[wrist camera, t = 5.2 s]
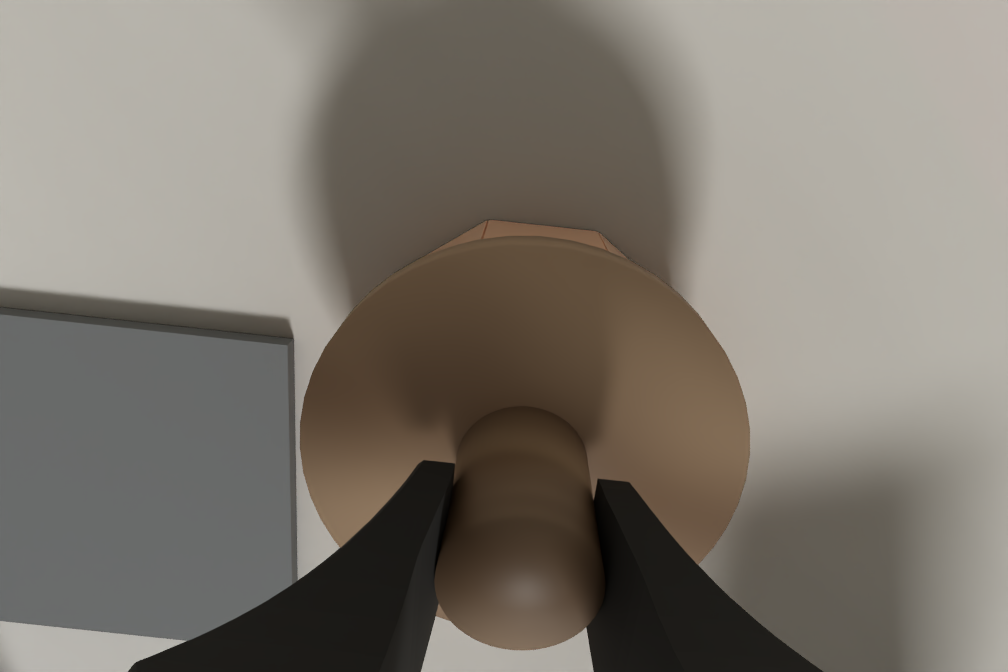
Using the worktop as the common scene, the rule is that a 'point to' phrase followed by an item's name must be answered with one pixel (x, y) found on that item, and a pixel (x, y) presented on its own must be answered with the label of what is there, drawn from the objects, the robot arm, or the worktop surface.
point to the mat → (143, 474)
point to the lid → (526, 422)
